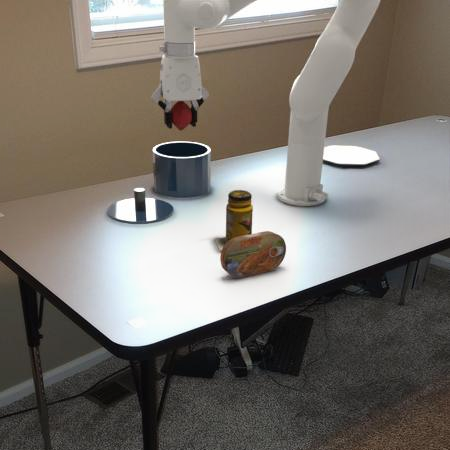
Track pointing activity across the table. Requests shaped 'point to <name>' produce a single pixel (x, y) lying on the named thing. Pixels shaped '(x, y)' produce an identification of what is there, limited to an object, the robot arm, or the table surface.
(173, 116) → the pomegranate
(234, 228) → the condiment
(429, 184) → the table surface
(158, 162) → the pot
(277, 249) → the tin
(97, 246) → the table surface
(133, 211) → the lid
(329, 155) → the plate
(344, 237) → the table surface
